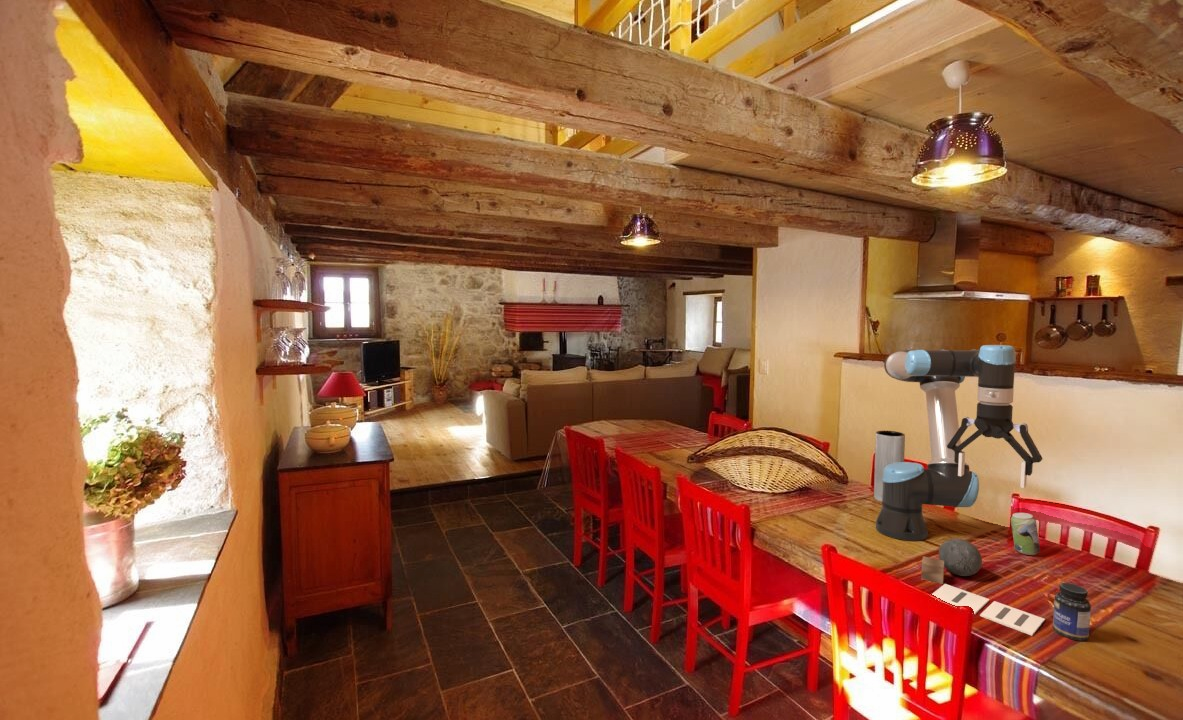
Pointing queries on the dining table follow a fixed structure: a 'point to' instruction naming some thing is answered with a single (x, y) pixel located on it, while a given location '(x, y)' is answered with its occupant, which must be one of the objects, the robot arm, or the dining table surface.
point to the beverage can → (1025, 533)
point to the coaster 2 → (1012, 618)
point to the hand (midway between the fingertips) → (990, 480)
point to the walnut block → (932, 570)
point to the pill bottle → (1072, 612)
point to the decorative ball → (960, 557)
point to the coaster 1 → (960, 597)
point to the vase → (886, 456)
